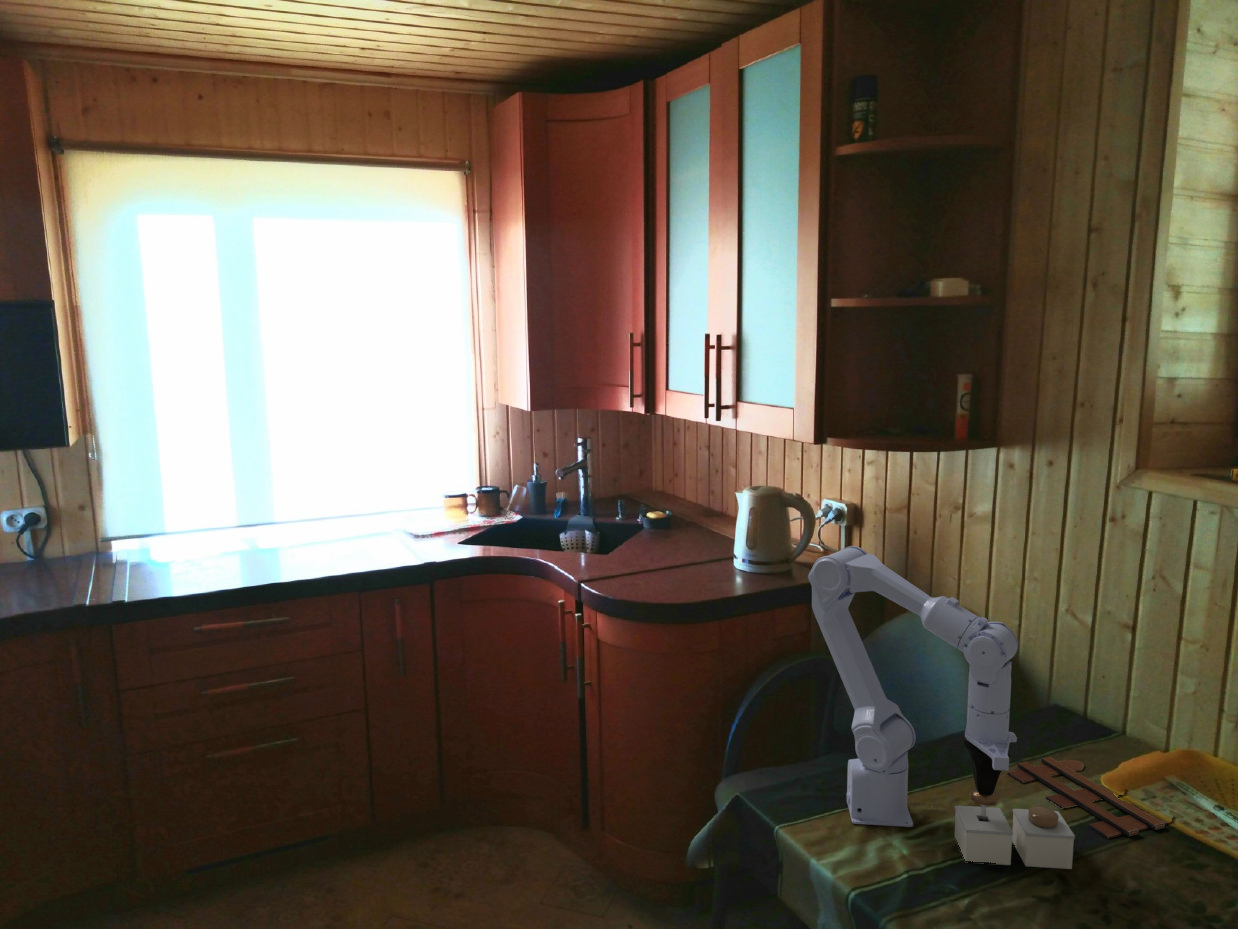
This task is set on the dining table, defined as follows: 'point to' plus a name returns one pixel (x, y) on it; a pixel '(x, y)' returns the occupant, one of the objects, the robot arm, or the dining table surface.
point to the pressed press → (1042, 838)
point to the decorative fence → (1087, 797)
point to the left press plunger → (984, 800)
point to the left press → (983, 835)
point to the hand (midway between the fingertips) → (984, 791)
